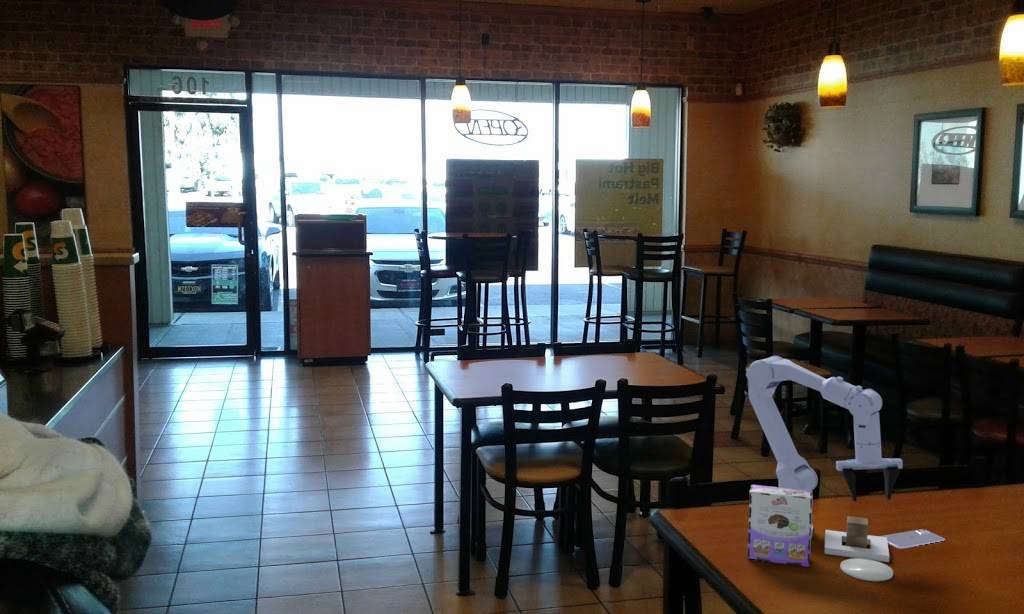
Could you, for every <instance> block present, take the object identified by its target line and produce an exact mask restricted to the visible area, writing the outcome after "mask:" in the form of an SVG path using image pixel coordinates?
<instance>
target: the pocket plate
mask: <svg viewBox="0 0 1024 614" xmlns="http://www.w3.org/2000/svg"><path fill="white" fill-rule="evenodd" d="M824 532H825V533H824V555H831V556H839V557H847V558H853V559H855V558H860V559H869V560H874V561H877V562H884V563H885V562H886V563H890V552H889V551H890V550H889V544H888V542H887V537H880V536H881V535H880V536H878V535H872V534H871V535H870V534H869V535H868V534H867V546H869V547H870V548H867V549H865V548H858V547H850V546H846V545H843V543H846V532H847V531H838V530H830V529H825V531H824Z"/></svg>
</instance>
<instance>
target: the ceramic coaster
mask: <svg viewBox="0 0 1024 614" xmlns="http://www.w3.org/2000/svg"><path fill="white" fill-rule="evenodd" d="M839 568H840V571H842V573H844V574H845V575H848V576H849V577H850V578H851V577H852V578H853V579H858V580H861V581H866V582H867V581H868V582H885V581H889V580H891V579H892V578H893V576H894V571H893V569H892V567H890V566H888V565H887V564H885V563H883V562H881V561H876V560H869V559H861V558H848V559H844V560H842V561H841V562H840V567H839Z"/></svg>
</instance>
